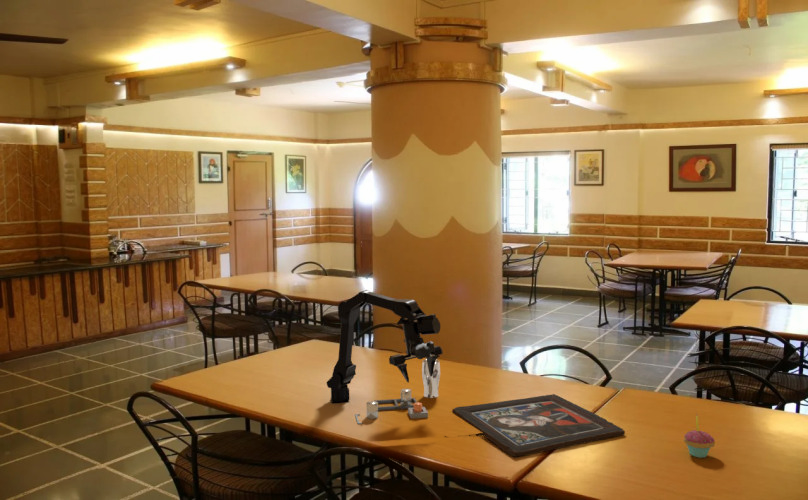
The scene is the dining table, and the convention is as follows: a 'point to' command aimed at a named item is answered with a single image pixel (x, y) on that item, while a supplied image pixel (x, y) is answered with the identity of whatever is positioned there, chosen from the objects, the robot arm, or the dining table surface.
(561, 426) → the religious icon
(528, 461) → the dining table surface
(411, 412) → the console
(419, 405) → the brown egg
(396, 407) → the grey divided tray
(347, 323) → the robot arm
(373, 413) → the cylinder
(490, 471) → the dining table surface
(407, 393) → the cylinder
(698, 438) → the cupcake
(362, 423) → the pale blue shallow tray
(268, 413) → the dining table surface
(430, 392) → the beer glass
